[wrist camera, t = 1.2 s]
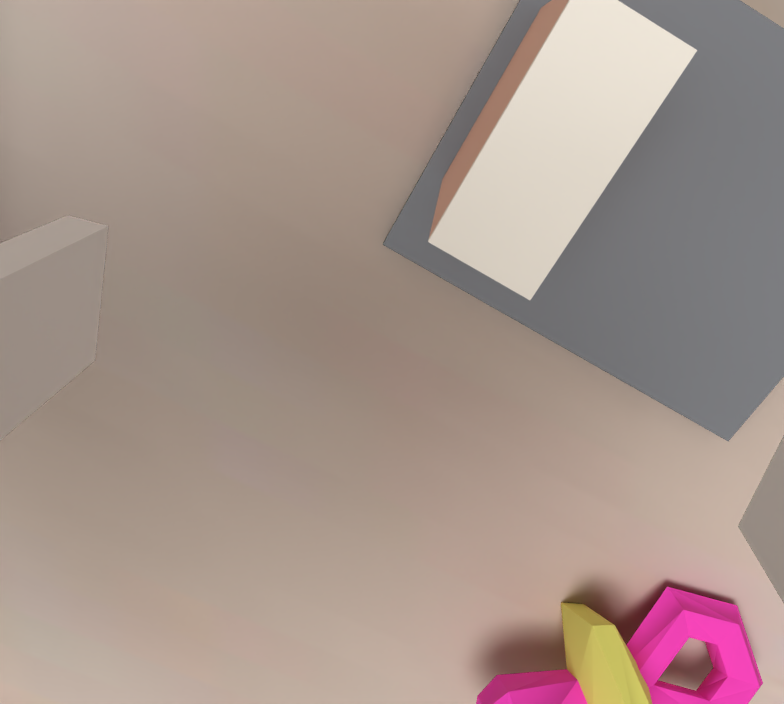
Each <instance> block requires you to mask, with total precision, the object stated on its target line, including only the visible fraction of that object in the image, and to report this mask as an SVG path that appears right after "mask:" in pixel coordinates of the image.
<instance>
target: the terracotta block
mask: <svg viewBox="0 0 784 704" xmlns="http://www.w3.org/2000/svg"><path fill="white" fill-rule="evenodd" d="M696 52H697V50H696V49H695V48H693V47H691V46H690V45H688V44H687V43H685V42H684V41H682V40H680V39H679V38H677V37H676V36H674V35H672V34H671V33H669V32H668V31H666V30H664V29H663V28H661V27H660V26H658V25H656V24H655V23H653V22H652V21H650V20H648V19H647V18H645V17H644V16H642V15H641V14H639V13H637V12H636V11H634V10H633V9H631V8H629V7H628V6H626V5H625V4H623V3H621V2H620V1H618V0H551V1H550V2H548V3H547V4H546V5H544V6H543V7H541V9H540V10H539V12H538V14H537V16H536V17H535V19H534V21H533V23H532V24H531V26H530V28H529V30H528V31H527V33H526V35H525V37H524V38H523V40H522V42H521V43H520V45H519V47H518V49H517V50H516V52H515V54H514V56H513V57H512V59H511V61H510V63H509V64H508V66H507V68H506V70H505V71H504V73H503V75H502V76H501V78H500V80H499V82H498V83H497V85H496V87H495V89H494V90H493V92H492V94H491V96H490V97H489V99H488V101H487V103H486V104H485V106H484V108H483V109H482V111H481V113H480V115H479V116H478V118H477V120H476V122H475V123H474V125H473V127H472V129H471V130H470V132H469V134H468V136H467V137H466V139H465V141H464V142H463V144H462V146H461V148H460V149H459V151H458V153H457V155H456V156H455V158H454V160H453V162H452V163H451V165H450V167H449V169H448V170H447V172H446V174H445V175H444V177H443V179H442V183H441V188H440V192H439V196H438V201H437V205H436V209H435V214H434V218H433V222H432V227H431V231H430V235H429V240H428V242H429V243H431V244H432V245H434V246H436V247H438V248H439V249H441V250H443V251H445V252H446V253H448V254H450V255H452V256H453V257H455V258H457V259H459V260H460V261H462V262H464V263H466V264H467V265H469V266H471V267H473V268H474V269H476V270H478V271H480V272H481V273H483V274H485V275H486V276H488V277H490V278H492V279H493V280H495V281H497V282H499V283H500V284H502V285H504V286H506V287H507V288H509V289H511V290H513V291H514V292H516V293H518V294H520V295H521V296H523V297H525V298H527V299H528V300H531V299H532V297H533V296H534V294H535V293H536V291H537V290H538V288H539V287H540V285H541V284H542V282H543V281H544V279H545V278H546V276H547V275H548V273H549V272H550V270H551V269H552V267H553V266H554V264H555V263H556V261H557V260H558V258H559V257H560V255H561V254H562V252H563V251H564V249H565V248H566V246H567V245H568V243H569V242H570V240H571V239H572V237H573V236H574V234H575V233H576V231H577V230H578V228H579V227H580V225H581V224H582V222H583V221H584V219H585V218H586V216H587V215H588V213H589V212H590V210H591V209H592V207H593V206H594V204H595V203H596V201H597V200H598V198H599V197H600V195H601V194H602V192H603V191H604V189H605V188H606V186H607V185H608V183H609V182H610V180H611V179H612V177H613V176H614V174H615V173H616V171H617V170H618V168H619V167H620V165H621V164H622V162H623V161H624V159H625V158H626V156H627V155H628V153H629V152H630V150H631V149H632V147H633V146H634V144H635V143H636V141H637V140H638V138H639V137H640V135H641V134H642V132H643V131H644V129H645V128H646V126H647V125H648V123H649V122H650V120H651V119H652V117H653V116H654V114H655V113H656V111H657V110H658V108H659V107H660V105H661V104H662V102H663V101H664V99H665V98H666V96H667V95H668V93H669V92H670V90H671V89H672V87H673V86H674V84H675V83H676V81H677V80H678V78H679V77H680V75H681V74H682V72H683V71H684V69H685V68H686V66H687V65H688V63H689V62H690V60H691V59H692V58H693V56H694V55H695V53H696Z"/></svg>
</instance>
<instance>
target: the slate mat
mask: <svg viewBox="0 0 784 704" xmlns="http://www.w3.org/2000/svg"><path fill="white" fill-rule="evenodd" d="M550 1H551V0H520V1H519V3H518V5H517V7H516V8H515V10H514V12H513V14H512V15H511V17H510V19H509V21H508V22H507V24H506V26H505V28H504V30H503V31H502V33H501V35H500V37H499V38H498V40H497V42H496V44H495V46H494V47H493V49H492V51H491V53H490V54H489V56H488V58H487V60H486V62H485V63H484V65H483V67H482V69H481V70H480V72H479V74H478V76H477V78H476V79H475V81H474V83H473V85H472V86H471V88H470V90H469V92H468V94H467V95H466V97H465V99H464V101H463V102H462V104H461V106H460V108H459V110H458V111H457V113H456V115H455V117H454V118H453V120H452V122H451V124H450V126H449V127H448V129H447V131H446V133H445V134H444V136H443V138H442V140H441V141H440V143H439V145H438V147H437V149H436V150H435V152H434V154H433V156H432V157H431V159H430V161H429V163H428V165H427V166H426V168H425V170H424V172H423V173H422V175H421V177H420V179H419V181H418V182H417V184H416V186H415V188H414V189H413V191H412V193H411V195H410V197H409V198H408V200H407V202H406V204H405V205H404V207H403V209H402V211H401V213H400V214H399V216H398V218H397V220H396V221H395V223H394V225H393V227H392V229H391V230H390V232H389V234H388V236H387V237H386V239H385V241H384V243H383V245H384V246H386V247H388V248H389V249H391V250H393V251H395V252H396V253H398V254H400V255H402V256H404V257H405V258H407V259H409V260H411V261H412V262H414V263H416V264H418V265H419V266H421V267H423V268H425V269H426V270H428V271H430V272H432V273H433V274H435V275H437V276H439V277H440V278H442V279H444V280H446V281H447V282H449V283H451V284H453V285H454V286H456V287H458V288H460V289H461V290H463V291H465V292H467V293H468V294H470V295H472V296H474V297H476V298H477V299H479V300H481V301H483V302H484V303H486V304H488V305H490V306H491V307H493V308H495V309H497V310H498V311H500V312H502V313H504V314H505V315H507V316H509V317H511V318H512V319H514V320H516V321H518V322H519V323H521V324H523V325H525V326H526V327H528V328H530V329H532V330H533V331H535V332H537V333H539V334H541V335H542V336H544V337H546V338H548V339H549V340H551V341H553V342H555V343H556V344H558V345H560V346H562V347H563V348H565V349H567V350H569V351H570V352H572V353H574V354H576V355H577V356H579V357H581V358H583V359H584V360H586V361H588V362H590V363H591V364H593V365H595V366H597V367H598V368H600V369H602V370H604V371H605V372H607V373H609V374H611V375H613V376H614V377H616V378H618V379H620V380H621V381H623V382H625V383H627V384H628V385H630V386H632V387H634V388H635V389H637V390H639V391H641V392H642V393H644V394H646V395H648V396H649V397H651V398H653V399H655V400H656V401H658V402H660V403H662V404H663V405H665V406H667V407H669V408H670V409H672V410H674V411H676V412H677V413H679V414H681V415H683V416H685V417H686V418H688V419H690V420H692V421H693V422H695V423H697V424H699V425H700V426H702V427H704V428H706V429H707V430H709V431H711V432H713V433H714V434H716V435H718V436H720V437H721V438H723V439H725V440H727V441H729V440H730V439H731V438H732V436H733V435H734V434H735V433H736V432H737V431H738V429H739V428H740V427H741V426H742V425H743V424H744V422H745V421H746V420H747V419H748V418H749V417H750V415H751V414H752V413H753V412H754V411H755V410H756V408H757V407H758V406H759V405H760V404H761V403H762V401H763V400H764V399H765V398H766V397H767V396H768V394H769V393H770V392H771V391H772V390H773V389H774V387H775V386H776V385H777V384H778V383H779V381H780V380H781V379H782V378H783V377H784V28H782V27H781V26H779V25H778V24H776V23H774V22H773V21H771V20H770V19H768V18H767V17H765V16H763V15H762V14H760V13H759V12H757V11H756V10H754V9H753V8H751V7H749V6H748V5H746V4H745V3H743V2H742V1H740V0H618V1H620V2H621V3H623V4H625V5H626V6H628V7H629V8H631V9H633V10H634V11H636V12H637V13H639V14H641V15H642V16H644V17H645V18H647V19H648V20H650V21H652V22H653V23H655V24H656V25H658V26H660V27H661V28H663V29H664V30H666V31H668V32H669V33H671V34H672V35H674V36H676V37H677V38H679V39H680V40H682V41H684V42H685V43H687V44H688V45H690V46H691V47H693V48H695V49H696V50H697V52H696V53H695V55H694V56H693V58H692V59H691V60H690V62H689V63H688V65H687V66H686V68H685V69H684V71H683V72H682V74H681V75H680V77H679V78H678V80H677V81H676V83H675V84H674V86H673V87H672V89H671V90H670V92H669V93H668V95H667V96H666V98H665V99H664V101H663V102H662V104H661V105H660V107H659V108H658V110H657V111H656V113H655V114H654V116H653V117H652V119H651V120H650V122H649V123H648V125H647V126H646V128H645V129H644V131H643V132H642V134H641V135H640V137H639V138H638V140H637V141H636V143H635V144H634V146H633V147H632V149H631V150H630V152H629V153H628V155H627V156H626V158H625V159H624V161H623V162H622V164H621V165H620V167H619V168H618V170H617V171H616V173H615V174H614V176H613V177H612V179H611V180H610V182H609V183H608V185H607V186H606V188H605V189H604V191H603V192H602V194H601V195H600V197H599V198H598V200H597V201H596V203H595V204H594V206H593V207H592V209H591V210H590V212H589V213H588V215H587V216H586V218H585V219H584V221H583V222H582V224H581V225H580V227H579V228H578V230H577V231H576V233H575V234H574V236H573V237H572V239H571V240H570V242H569V243H568V245H567V246H566V248H565V249H564V251H563V252H562V254H561V255H560V257H559V258H558V260H557V261H556V263H555V264H554V266H553V267H552V269H551V270H550V272H549V273H548V275H547V276H546V278H545V279H544V281H543V282H542V284H541V285H540V287H539V288H538V290H537V291H536V293H535V294H534V296H533V297H532V299H531V300H528V299H527V298H525V297H523V296H521V295H520V294H518V293H516V292H514V291H513V290H511V289H509V288H507V287H506V286H504V285H502V284H500V283H499V282H497V281H495V280H493V279H492V278H490V277H488V276H486V275H485V274H483V273H481V272H480V271H478V270H476V269H474V268H473V267H471V266H469V265H467V264H466V263H464V262H462V261H460V260H459V259H457V258H455V257H453V256H452V255H450V254H448V253H446V252H445V251H443V250H441V249H439V248H438V247H436V246H434V245H432V244H431V243H429V242H428V240H429V235H430V231H431V227H432V222H433V218H434V214H435V209H436V205H437V201H438V196H439V192H440V188H441V183H442V179H443V177H444V175H445V174H446V172H447V170H448V169H449V167H450V165H451V163H452V162H453V160H454V158H455V156H456V155H457V153H458V151H459V149H460V148H461V146H462V144H463V142H464V141H465V139H466V137H467V136H468V134H469V132H470V130H471V129H472V127H473V125H474V123H475V122H476V120H477V118H478V116H479V115H480V113H481V111H482V109H483V108H484V106H485V104H486V103H487V101H488V99H489V97H490V96H491V94H492V92H493V90H494V89H495V87H496V85H497V83H498V82H499V80H500V78H501V76H502V75H503V73H504V71H505V70H506V68H507V66H508V64H509V63H510V61H511V59H512V57H513V56H514V54H515V52H516V50H517V49H518V47H519V45H520V43H521V42H522V40H523V38H524V37H525V35H526V33H527V31H528V30H529V28H530V26H531V24H532V23H533V21H534V19H535V17H536V16H537V14H538V12H539V10H540V9H541V7H543V6H544V5H546V4H547V3H548V2H550Z"/></svg>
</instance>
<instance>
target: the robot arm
mask: <svg viewBox="0 0 784 704" xmlns="http://www.w3.org/2000/svg"><path fill="white" fill-rule="evenodd" d="M108 229H109V226H108V225H104V224H100V223H96V222H92V221H88V220H85V219H81V218H77V217H73V216H69V215H67V216H65V217H62V218H60V219H58V220H55V221H53V222H50V223H48V224H45V225H43V226H41V227H38V228H36V229H33V230H31V231H28V232H26V233H24V234H21V235H19V236H16V237H14V238H11V239H9V240H7V241H4V242H2V243H0V440H2V439H3V438H4V437H5V436H6V435H8V434H9V433H10V432H11V431H12V430H13V429H15V428H16V427H17V426H18V425H19V424H21V423H22V422H23V421H24V420H25V419H27V418H28V417H29V416H30V415H31V414H32V413H34V412H35V411H36V410H37V409H38V408H40V407H41V406H42V405H43V404H44V403H45V402H47V401H48V400H49V399H50V398H51V397H53V396H54V395H55V394H56V393H57V392H58V391H60V390H61V389H62V388H63V387H64V386H66V385H67V384H68V383H69V382H70V381H72V380H73V379H74V378H75V377H76V376H77V375H79V374H80V373H81V372H82V371H83V370H85V369H86V368H87V367H88V366H89V365H90V364H92V363H93V362H94V361H95V358H96V348H97V338H98V328H99V318H100V308H101V298H102V288H103V279H104V269H105V259H106V249H107V239H108ZM738 527H739V529H740V530H741V532H742V534H743V536H744V537H745V539H746V541H747V542H748V544H749V546H750V547H751V549H752V551H753V552H754V554H755V556H756V557H757V559H758V561H759V562H760V564H761V566H762V567H763V569H764V571H765V573H766V574H767V576H768V578H769V579H770V581H771V583H772V584H773V586H774V588H775V589H776V591H777V593H778V594H779V596H780V598H781V599H782V601H783V603H784V436H783V438H782V440H781V442H780V444H779V446H778V448H777V450H776V452H775V454H774V456H773V458H772V460H771V462H770V464H769V466H768V468H767V470H766V472H765V474H764V476H763V477H762V479H761V481H760V483H759V485H758V487H757V489H756V491H755V493H754V495H753V497H752V499H751V501H750V503H749V505H748V507H747V509H746V511H745V513H744V515H743V517H742V519H741V521H740V523H739V525H738Z"/></svg>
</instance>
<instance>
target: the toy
mask: <svg viewBox="0 0 784 704" xmlns="http://www.w3.org/2000/svg"><path fill="white" fill-rule="evenodd" d="M561 610H562V621H563V632H564V643H565V654H566V665H567V669H564V670H552V671H540V672H527V673H515V674H502V675H496V677H495V678H494V679H493V680H492V681H491V682H490V683H489V684H488V685H487V686H486V687H485V688H484V689H483V691H482V692H481V693H480V694H479V695H478V696H477V702H476V704H748V703H749V701H750V700H751V699H752V697H753V696H754V695H755V693H756V692H757V691H758V689H759V688H760V686H761V685H762V684H763V682H762V679H761V676H760V673H759V670H758V667H757V664H756V661H755V658H754V655H753V652H752V649H751V646H750V643H749V640H748V637H747V634H746V631H745V628H744V625H743V622H742V619H741V616H740V613H739V610H738V607H737V605H733V604H730V603H726V602H722V601H719V600H715V599H711V598H708V597H704V596H700V595H697V594H693V593H689V592H685V591H682V590H678V589H674V588H671V587H667V588H666V589H665V590H664V592H663V593H662V595H661V596H660V598H659V599H658V600H657V602H656V603H655V605H654V606H653V608H652V609H651V610H650V612H649V613H648V615H647V616H646V618H645V619H644V620H643V622H642V623H641V625H640V626H639V628H638V629H637V630H636V632H635V633H634V635H633V636H632V638H631V639H630V640H629V642H628V643H627V645H626V644H625V642H624V640H623V639H622V637H621V635H620V634H619V632H618V630H617V628H616V627H615V625H614V624H612V623H611V622H609V621H608V620H606V619H605V618H603V617H602V616H600V615H599V614H597V613H596V612H594V611H593V610H592V609H590V608H589V607H587V606H586V605H584V604H574V603H561ZM689 637H690V638H694V639H698V640H701V641H705V643H706V646H707V649H708V652H709V656H710V659H711V662H712V665H713V669H712V670H711V672H710V673H709V674H708V676H707V677H706V678H705V680H704V681H703V682H702V684H701V685H700V686H699V688H698V689H697V690H696V691H694V690H691V689H687V688H684V687H680V686H676V685H673V684H669V683H666V682H662V681H658V679H659V678H660V676H661V675H662V673H663V672H664V671H665V669H666V668H667V667H668V665H669V664H670V663H671V661H672V660H673V659H674V657H675V656H676V654H677V653H678V652H679V650H680V649H681V648H682V646H683V645H684V644H685V642H686V641H687V640H688V638H689Z"/></svg>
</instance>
